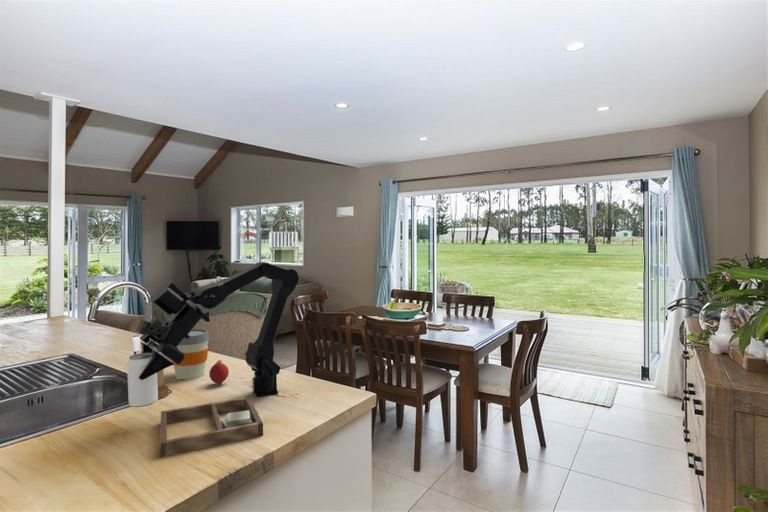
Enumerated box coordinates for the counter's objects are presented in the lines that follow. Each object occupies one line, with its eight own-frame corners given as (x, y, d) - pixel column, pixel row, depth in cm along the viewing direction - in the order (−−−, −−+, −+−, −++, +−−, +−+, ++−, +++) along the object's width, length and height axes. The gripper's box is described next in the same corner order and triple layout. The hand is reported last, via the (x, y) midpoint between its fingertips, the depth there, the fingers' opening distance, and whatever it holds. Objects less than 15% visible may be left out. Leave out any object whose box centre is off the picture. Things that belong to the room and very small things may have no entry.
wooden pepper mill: (173, 393, 129) (172, 335, 128) (155, 401, 123) (154, 340, 122) (157, 390, 131) (155, 333, 131) (138, 398, 125) (137, 338, 125)
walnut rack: (249, 407, 119) (249, 396, 119) (263, 435, 102) (262, 423, 102) (161, 422, 109) (161, 411, 109) (160, 456, 92) (160, 443, 92)
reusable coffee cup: (204, 380, 141) (203, 336, 140) (164, 382, 139) (163, 337, 138) (213, 368, 153) (212, 328, 153) (176, 370, 151) (175, 329, 151)
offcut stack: (249, 423, 109) (249, 408, 109) (254, 433, 103) (254, 417, 103) (221, 428, 106) (220, 413, 105) (224, 439, 100) (223, 423, 100)
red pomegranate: (222, 388, 134) (221, 363, 134) (205, 386, 135) (205, 362, 135) (232, 381, 140) (231, 358, 139) (216, 380, 141) (216, 357, 140)
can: (146, 396, 111) (145, 351, 111) (163, 399, 109) (162, 353, 108) (122, 405, 105) (121, 357, 105) (140, 409, 103) (138, 361, 102)
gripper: (146, 302, 115) (100, 350, 108) (169, 311, 102) (118, 366, 95) (178, 326, 121) (136, 373, 114) (203, 338, 108) (157, 391, 101)
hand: (136, 375), depth 106 cm, fingers closed on can, 6 cm apart
